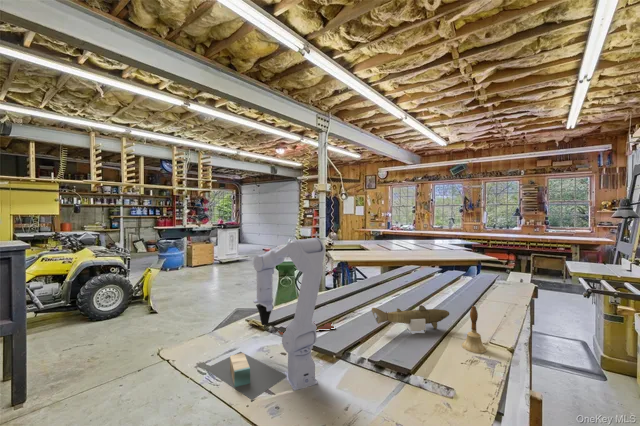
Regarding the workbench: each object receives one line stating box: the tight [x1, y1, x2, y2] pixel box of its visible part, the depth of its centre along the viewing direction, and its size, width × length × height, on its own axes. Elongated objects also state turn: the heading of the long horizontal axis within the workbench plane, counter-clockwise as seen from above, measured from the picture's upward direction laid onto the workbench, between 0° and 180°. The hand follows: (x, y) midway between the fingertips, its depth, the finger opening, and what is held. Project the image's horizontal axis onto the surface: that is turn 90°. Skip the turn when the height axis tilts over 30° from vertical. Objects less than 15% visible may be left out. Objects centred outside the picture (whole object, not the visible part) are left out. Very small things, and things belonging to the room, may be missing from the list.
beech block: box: [229, 352, 250, 387], centre depth 90 cm, size 4×4×10 cm
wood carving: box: [371, 304, 450, 331], centre depth 123 cm, size 9×35×11 cm, turn 98°
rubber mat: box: [204, 351, 287, 403], centre depth 92 cm, size 24×14×1 cm, turn 52°
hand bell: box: [461, 305, 487, 354], centre depth 109 cm, size 8×8×16 cm
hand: (264, 324), depth 105 cm, fingers closed
